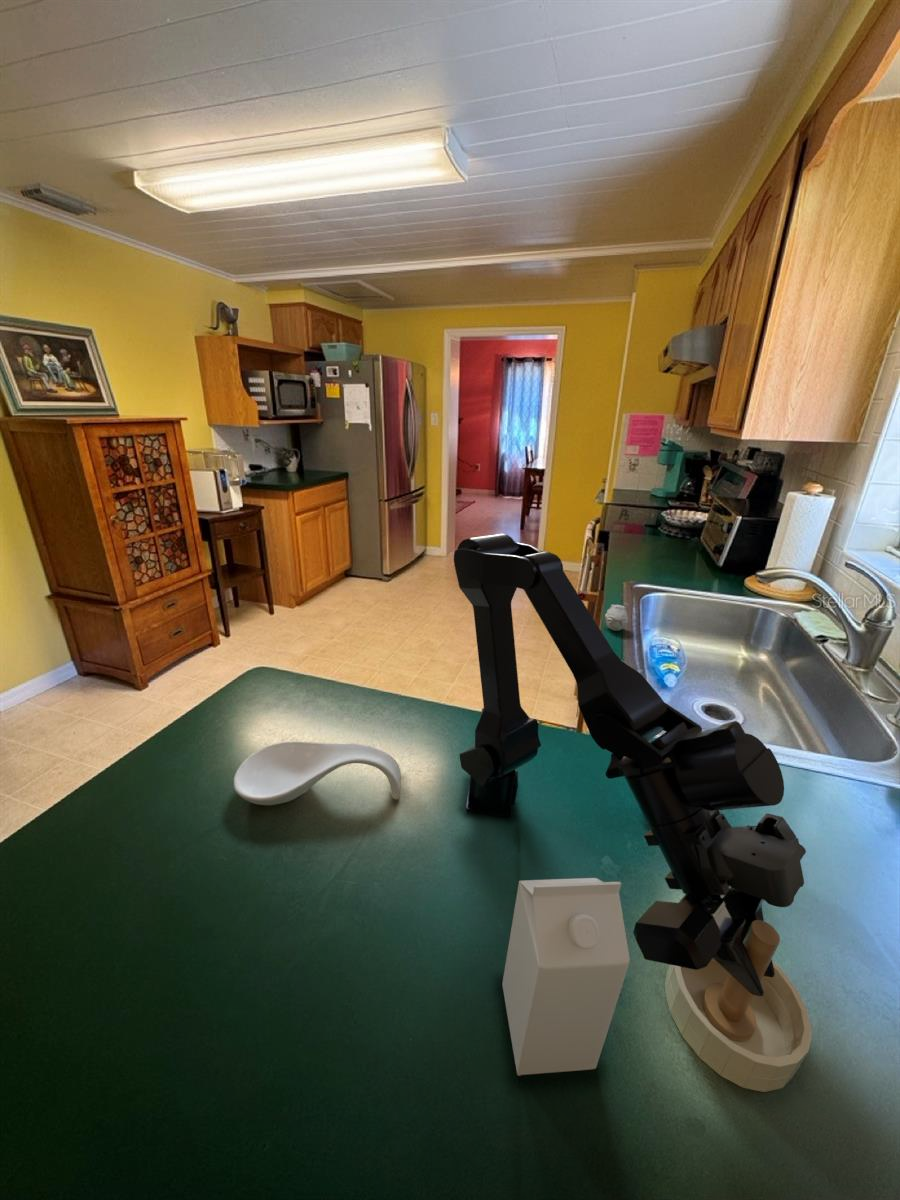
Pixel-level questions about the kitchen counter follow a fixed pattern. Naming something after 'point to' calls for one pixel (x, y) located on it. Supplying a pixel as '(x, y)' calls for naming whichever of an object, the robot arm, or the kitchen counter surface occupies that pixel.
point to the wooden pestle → (741, 987)
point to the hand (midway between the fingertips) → (763, 985)
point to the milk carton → (563, 972)
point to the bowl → (772, 1043)
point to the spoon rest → (304, 769)
